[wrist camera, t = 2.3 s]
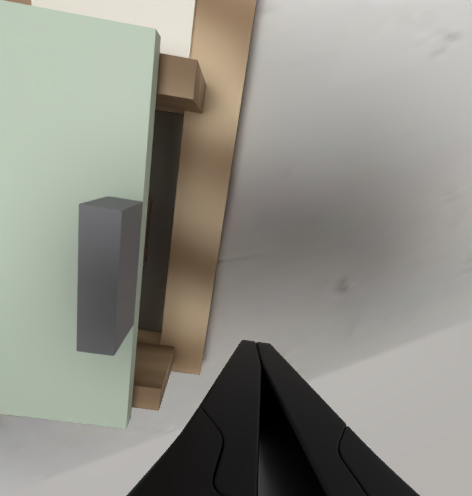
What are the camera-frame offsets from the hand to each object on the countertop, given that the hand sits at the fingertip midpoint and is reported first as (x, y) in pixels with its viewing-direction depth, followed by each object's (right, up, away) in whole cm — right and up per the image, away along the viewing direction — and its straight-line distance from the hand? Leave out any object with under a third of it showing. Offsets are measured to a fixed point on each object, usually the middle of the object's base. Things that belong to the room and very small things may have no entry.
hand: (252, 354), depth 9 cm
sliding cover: (-8, +3, +6) cm, 11 cm away
